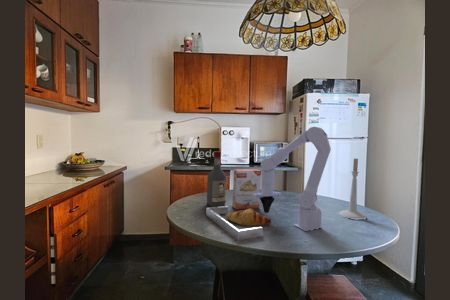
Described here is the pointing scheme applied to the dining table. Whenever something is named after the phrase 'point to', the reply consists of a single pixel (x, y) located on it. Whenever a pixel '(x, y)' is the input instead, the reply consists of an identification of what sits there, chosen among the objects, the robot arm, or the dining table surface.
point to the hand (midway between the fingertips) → (266, 212)
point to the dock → (232, 230)
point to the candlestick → (353, 196)
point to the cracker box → (246, 188)
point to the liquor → (216, 184)
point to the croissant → (248, 218)
